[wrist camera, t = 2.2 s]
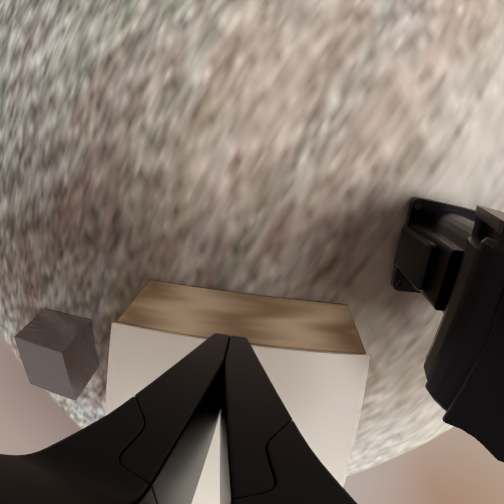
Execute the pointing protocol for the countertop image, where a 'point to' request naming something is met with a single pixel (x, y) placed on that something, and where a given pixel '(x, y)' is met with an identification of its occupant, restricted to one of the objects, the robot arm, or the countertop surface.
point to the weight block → (58, 352)
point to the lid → (280, 374)
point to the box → (245, 318)
